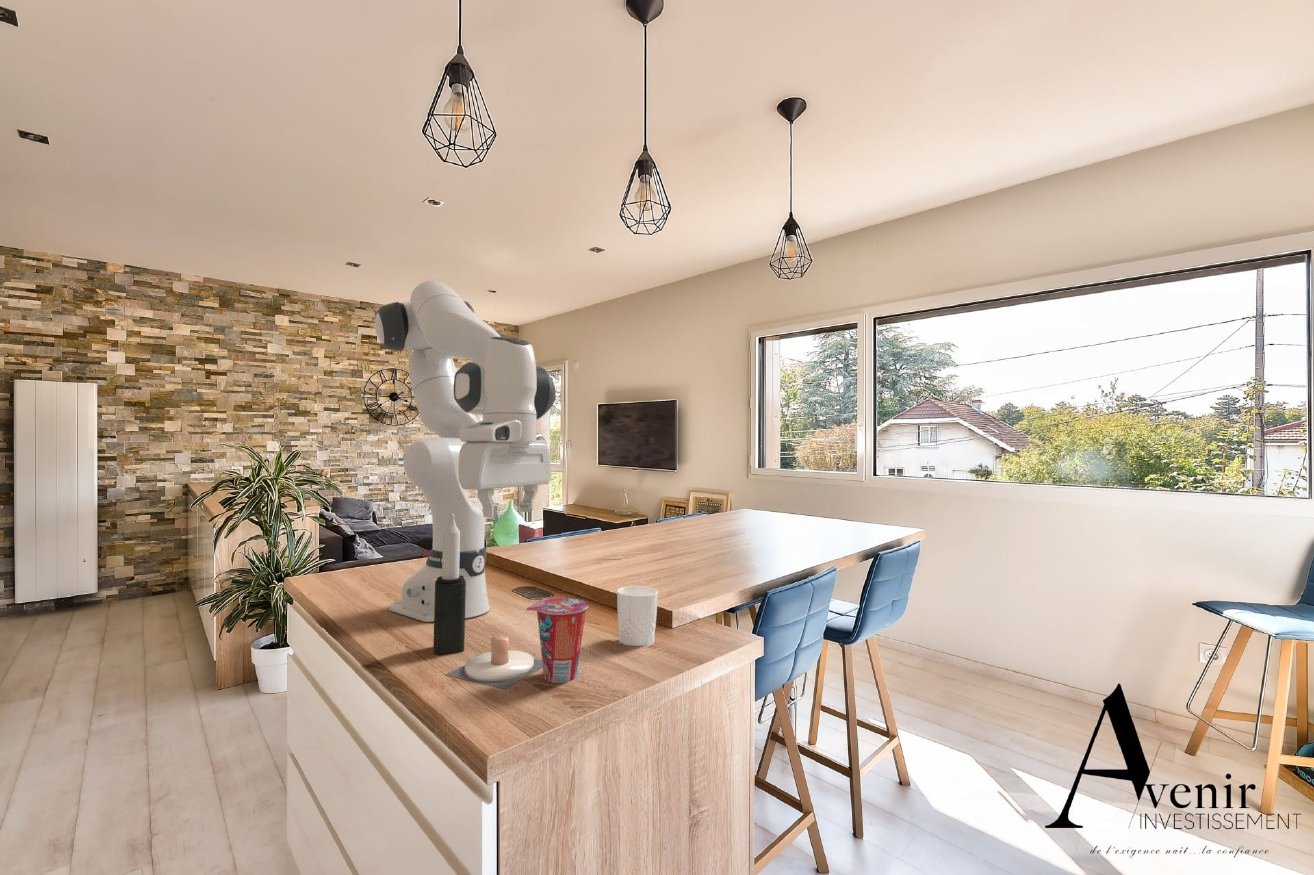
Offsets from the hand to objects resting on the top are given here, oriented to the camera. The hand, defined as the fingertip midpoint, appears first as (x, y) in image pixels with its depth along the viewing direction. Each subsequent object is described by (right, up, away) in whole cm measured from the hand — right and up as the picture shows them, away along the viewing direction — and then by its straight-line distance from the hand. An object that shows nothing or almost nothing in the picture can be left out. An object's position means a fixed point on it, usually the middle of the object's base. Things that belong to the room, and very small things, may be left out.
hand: (509, 514), depth 96 cm
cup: (+9, -26, -4) cm, 28 cm away
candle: (-13, -26, +7) cm, 30 cm away
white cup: (+21, -27, +14) cm, 37 cm away
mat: (-1, -26, -1) cm, 26 cm away
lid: (-1, -25, -1) cm, 25 cm away
